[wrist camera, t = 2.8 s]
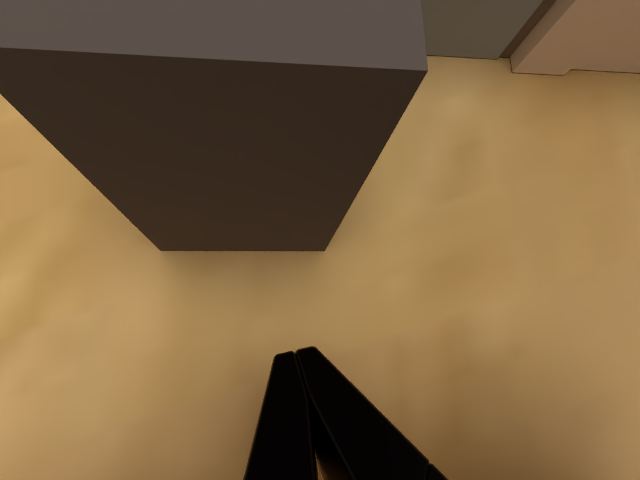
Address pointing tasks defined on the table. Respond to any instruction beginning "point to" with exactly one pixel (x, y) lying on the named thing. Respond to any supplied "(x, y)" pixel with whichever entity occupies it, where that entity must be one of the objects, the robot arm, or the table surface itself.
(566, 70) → the wall frame
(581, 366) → the table surface
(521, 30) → the door
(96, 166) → the doorstop block
